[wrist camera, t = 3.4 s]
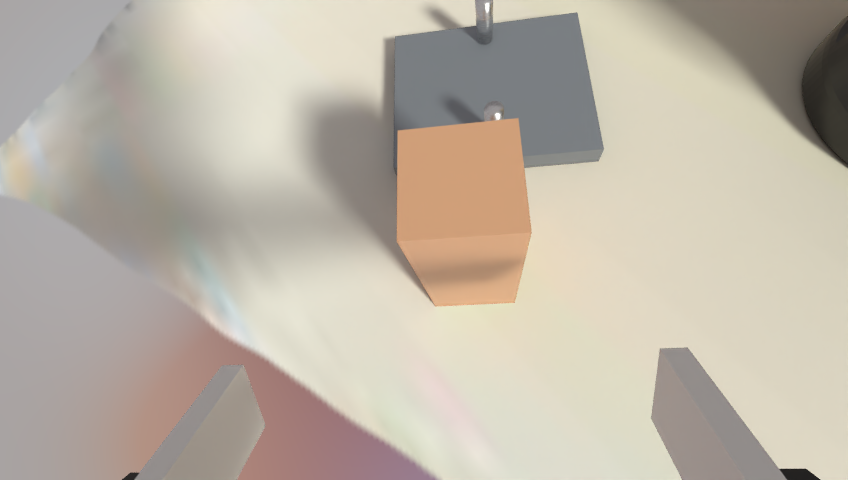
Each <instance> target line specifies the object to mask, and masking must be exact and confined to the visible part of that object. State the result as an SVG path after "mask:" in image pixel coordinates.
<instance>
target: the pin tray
mask: <svg viewBox="0 0 848 480" xmlns="http://www.w3.org/2000/svg"><path fill="white" fill-rule="evenodd" d="M475 4H476V26H472V27H464V28H457V29H449V30H442V31H434V32H427V33H419V34H412V35H404V36H397V37H395V92H394V170H395V173H396V175H397V143H398V130H408V129H417V128H427V127H437V126H446V125H456V124H466V123H475V122H485V121H495V120H504V119H514V118H518V119H519V127H520V136H521V145H522V154H523V162H524V168H526V167H538V166H549V165H560V164H572V163H583V162H595V161H599V159H600V157H601V154H602V152H603V150H604V147H603V142H602V137H601V132H600V127H599V122H598V117H597V112H596V106H595V101H594V96H593V91H592V86H591V81H590V76H589V70H588V65H587V60H586V55H585V50H584V45H583V40H582V35H581V29H580V24H579V19H578V14H577V13H570V14H562V15H555V16H547V17H540V18H532V19H525V20H517V21H510V22H502V23H495V24H493V0H475Z"/></svg>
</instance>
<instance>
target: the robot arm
mask: <svg viewBox="0 0 848 480" xmlns="http://www.w3.org/2000/svg"><path fill="white" fill-rule="evenodd" d="M803 98H804V103H805V107H806V110H807V112H808V115H809V117H810V119H811V121H812V123H813V125H814V127H815V129H816V130H817V132H818V133H819V134H820V136H821V137H822V138H823V140H824V141H825V142H826V143H827V145H828V146H829V147H830V148H831V149H832V150H833V151H834V152H835V153H836V154H837V155H838V156H839V157H840V158H842V159H843V160H844V161H845V162H846V163H848V16H847V17H846V18H845V19H843V20H842V21H841V22H840V23H839V24H838V26H837V27H836V28H835V29H834V30H833V31H832V32H831V33H830V34H829V35H828V36H827V37H826V38H825V40H824V41H823V42H822V43H821V44H820V45H819V46H818V47H817V48H816V50H815V51H814V52H813V54H812V55H811V57H810V59H809V61H808V63H807V66H806V68H805V72H804V77H803ZM651 419H652V421H653V423H654V425H655V427H656V429H657V431H658V433H659V435H660V437H661V439H662V441H663V443H664V445H665V447H666V449H667V450H668V452H669V454H670V456H671V458H672V460H673V462H674V464H675V466H676V468H677V470H678V472H679V474H680V476H681V478H682V480H820V479H819V478H817V477H816V476H815V475H814V474H812V473H811V472H810V471H808V470H807V469H779V468H778V467H777V466H776V464H775V463H774V462H773V460H772V459H771V458H770V456H769V455H768V454H767V452H766V451H765V450H764V448H763V447H762V446H761V444H760V443H759V442H758V440H757V439H756V438H755V436H754V435H753V434H752V432H751V431H750V430H749V428H748V427H747V426H746V424H745V423H744V422H743V420H742V419H741V418H740V416H739V415H738V414H737V412H736V411H735V410H734V408H733V407H732V406H731V405H730V403H729V402H728V401H727V399H726V398H725V397H724V395H723V394H722V393H721V391H720V390H719V389H718V387H717V386H716V385H715V383H714V382H713V381H712V379H711V378H710V377H709V375H708V374H707V373H706V371H705V370H704V369H703V367H702V366H701V365H700V363H699V362H698V361H697V359H696V358H695V357H694V355H693V354H692V353H691V351H690V350H689V349H688V348H665V349H660V352H659V360H658V368H657V376H656V384H655V392H654V400H653V408H652V416H651ZM264 427H265V423H264V420H263V417H262V415H261V412H260V409H259V406H258V404H257V401H256V398H255V395H254V393H253V390H252V387H251V384H250V382H249V379H248V376H247V373H246V371H245V368H244V365H226V366H221V368H220V369H219V370H218V372H217V373H216V374H215V376H214V377H213V378H212V379H211V381H210V382H209V383H208V385H207V386H206V387H205V389H204V390H203V391H202V393H201V394H200V395H199V396H198V398H197V399H196V400H195V402H194V403H193V404H192V405H191V407H190V408H189V409H188V411H187V412H186V413H185V415H184V416H183V417H182V418H181V420H180V421H179V422H178V424H177V425H176V426H175V428H174V429H173V430H172V431H171V433H170V434H169V435H168V437H167V438H166V439H165V440H164V442H163V443H162V445H161V446H160V447H159V448H158V450H157V451H156V452H155V454H154V455H153V456H152V457H151V459H150V460H149V461H148V463H147V464H146V465H145V466H144V468H143V469H142V470H141V472H140V473H130V474H128V475H127V476H126V477H125V478H124V479H122V480H237V478H238V476H239V474H240V473H241V471H242V469H243V467H244V465H245V463H246V461H247V459H248V458H249V455H250V454H251V452H252V450H253V448H254V446H255V444H256V442H257V441H258V439H259V437H260V435H261V433H262V431H263V429H264Z"/></svg>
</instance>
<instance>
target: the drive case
mask: <svg viewBox="0 0 848 480" xmlns="http://www.w3.org/2000/svg"><path fill="white" fill-rule="evenodd" d="M531 233H532V232H531V223H530V215H529V206H528V197H527V188H526V180H525V171H524V162H523V154H522V145H521V136H520V127H519V119H518V118H514V119H504V120H495V121H485V122H475V123H466V124H456V125H446V126H437V127H427V128H417V129H408V130H398V143H397V243H398V244H399V246H400V248H401V250H402V251H403V253H404V255H405V256H406V258H407V260H408V261H409V263H410V265H411V266H412V268H413V270H414V271H415V273H416V275H417V276H418V278H419V280H420V281H421V283H422V285H423V286H424V288H425V290H426V291H427V293H428V295H429V296H430V298H431V300H432V301H433V303H434V305H435V306H453V305H474V304H495V303H515V299H516V295H517V291H518V287H519V283H520V278H521V274H522V270H523V266H524V262H525V258H526V253H527V249H528V245H529V241H530V237H531Z"/></svg>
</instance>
